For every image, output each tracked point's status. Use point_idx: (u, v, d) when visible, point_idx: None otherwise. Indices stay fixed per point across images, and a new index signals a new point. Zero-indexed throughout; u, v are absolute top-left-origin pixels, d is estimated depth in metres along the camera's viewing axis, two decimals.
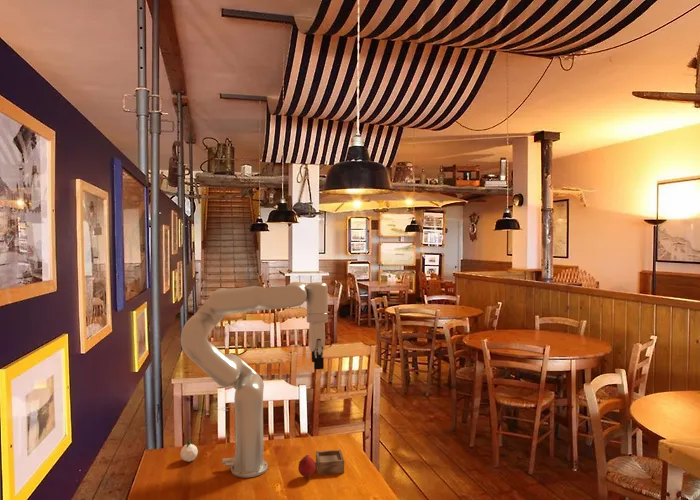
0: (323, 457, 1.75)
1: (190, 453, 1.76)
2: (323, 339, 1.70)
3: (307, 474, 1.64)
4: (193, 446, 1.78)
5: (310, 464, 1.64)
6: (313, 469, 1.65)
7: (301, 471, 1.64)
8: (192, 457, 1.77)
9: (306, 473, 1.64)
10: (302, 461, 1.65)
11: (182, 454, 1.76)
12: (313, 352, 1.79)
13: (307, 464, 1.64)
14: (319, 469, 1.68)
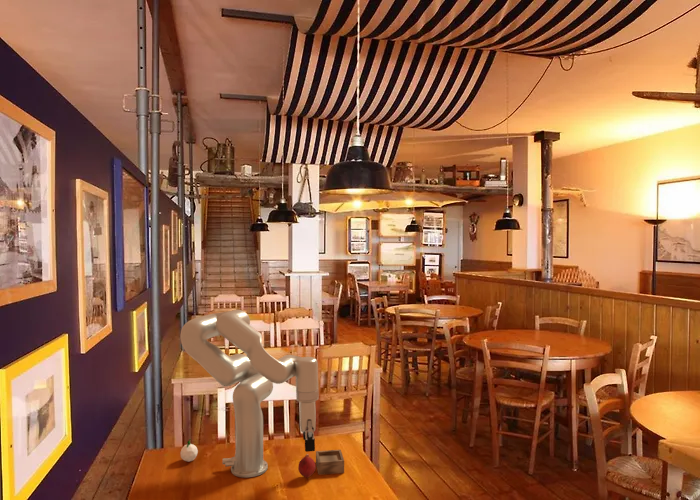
0: (323, 457, 1.75)
1: (190, 453, 1.76)
2: (314, 419, 1.61)
3: (307, 474, 1.64)
4: (193, 446, 1.78)
5: (310, 464, 1.64)
6: (313, 469, 1.65)
7: (301, 471, 1.64)
8: (192, 457, 1.77)
9: (306, 473, 1.64)
10: (302, 461, 1.65)
11: (182, 454, 1.76)
12: None
13: (307, 464, 1.64)
14: (319, 469, 1.68)
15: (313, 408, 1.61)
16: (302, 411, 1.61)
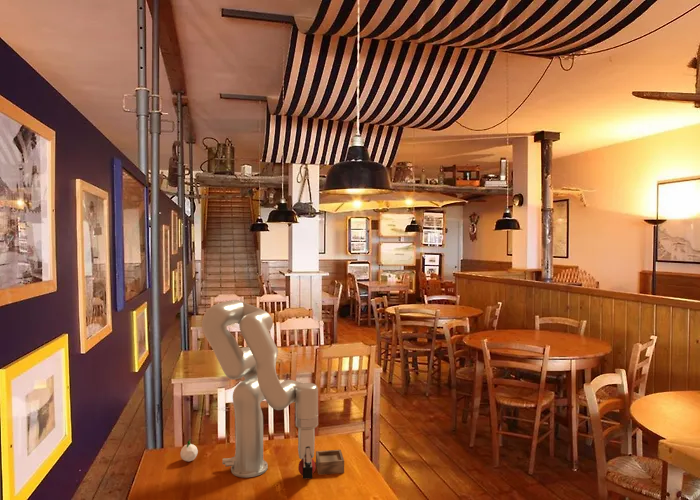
0: (323, 457, 1.75)
1: (190, 453, 1.76)
2: (312, 446, 1.62)
3: None
4: (193, 446, 1.78)
5: None
6: (313, 469, 1.65)
7: (301, 471, 1.64)
8: (192, 457, 1.77)
9: None
10: (302, 461, 1.65)
11: (182, 454, 1.76)
12: None
13: None
14: (319, 469, 1.68)
15: (312, 435, 1.62)
16: (301, 438, 1.61)
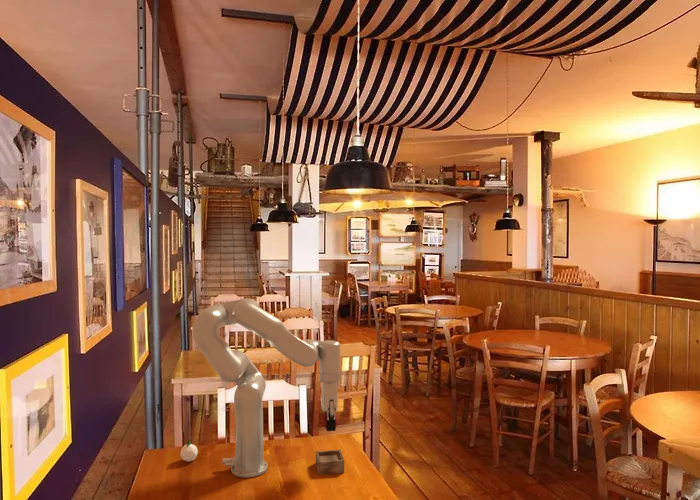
0: (323, 457, 1.75)
1: (190, 453, 1.76)
2: (336, 400, 1.68)
3: None
4: (193, 446, 1.78)
5: None
6: (336, 422, 1.72)
7: (325, 424, 1.71)
8: (192, 457, 1.77)
9: None
10: (325, 414, 1.72)
11: (182, 454, 1.76)
12: None
13: None
14: (319, 469, 1.68)
15: (335, 389, 1.69)
16: (325, 391, 1.68)
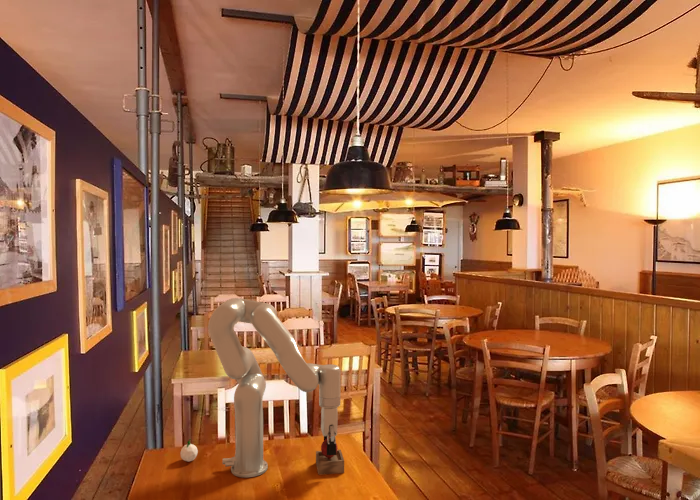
0: (323, 457, 1.75)
1: (190, 453, 1.76)
2: (336, 424, 1.69)
3: None
4: (193, 446, 1.78)
5: None
6: None
7: (324, 451, 1.71)
8: (192, 457, 1.77)
9: None
10: (324, 442, 1.73)
11: (182, 454, 1.76)
12: None
13: None
14: (319, 469, 1.68)
15: (335, 414, 1.69)
16: (325, 416, 1.68)
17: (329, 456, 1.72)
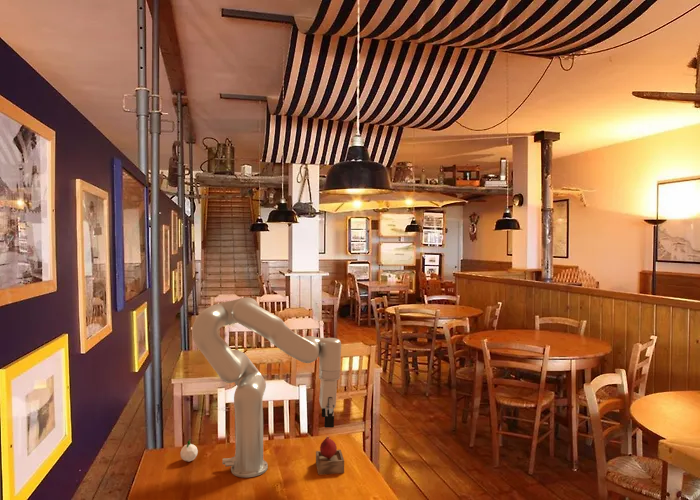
0: (323, 457, 1.75)
1: (190, 453, 1.76)
2: (335, 397, 1.68)
3: (329, 455, 1.71)
4: (193, 446, 1.78)
5: (331, 445, 1.71)
6: (334, 450, 1.72)
7: (323, 452, 1.71)
8: (192, 457, 1.77)
9: (328, 454, 1.71)
10: (323, 443, 1.72)
11: (182, 454, 1.76)
12: None
13: (328, 445, 1.71)
14: (319, 469, 1.68)
15: (335, 386, 1.69)
16: (324, 389, 1.68)
17: (328, 457, 1.72)
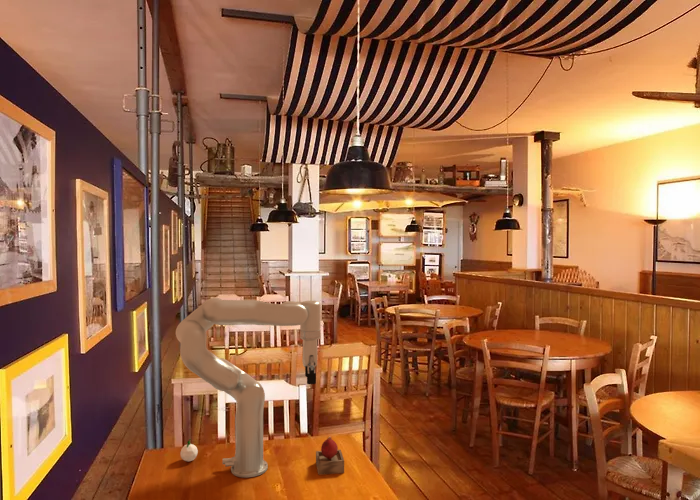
0: (323, 457, 1.75)
1: (190, 453, 1.76)
2: (315, 355, 1.78)
3: (329, 455, 1.71)
4: (193, 446, 1.78)
5: (332, 446, 1.71)
6: (335, 451, 1.72)
7: (323, 452, 1.71)
8: (192, 457, 1.77)
9: (328, 454, 1.71)
10: (324, 443, 1.72)
11: (182, 454, 1.76)
12: (306, 367, 1.87)
13: (329, 446, 1.71)
14: (319, 469, 1.68)
15: (315, 345, 1.78)
16: (305, 347, 1.78)
17: (328, 457, 1.72)
